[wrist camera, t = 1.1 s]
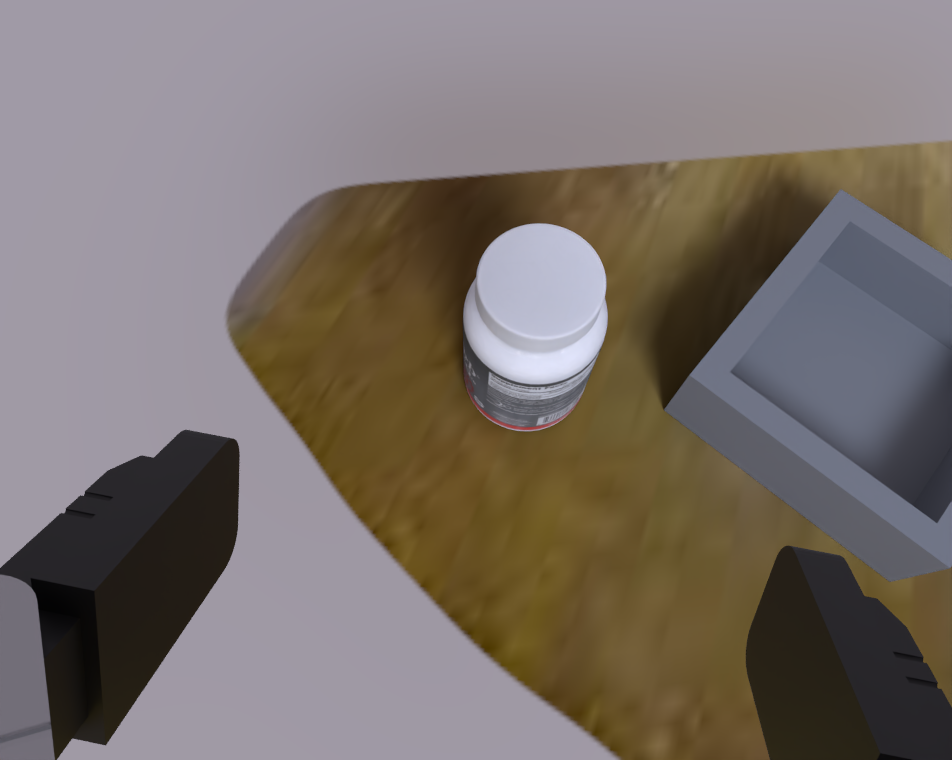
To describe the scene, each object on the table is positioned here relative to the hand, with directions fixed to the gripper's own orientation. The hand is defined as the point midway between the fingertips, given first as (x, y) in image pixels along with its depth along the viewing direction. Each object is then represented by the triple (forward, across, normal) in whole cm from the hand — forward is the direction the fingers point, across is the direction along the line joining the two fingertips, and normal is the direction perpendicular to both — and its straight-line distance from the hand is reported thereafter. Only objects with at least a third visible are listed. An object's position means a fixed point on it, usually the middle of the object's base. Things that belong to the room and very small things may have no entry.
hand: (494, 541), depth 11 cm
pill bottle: (+24, 0, +8) cm, 26 cm away
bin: (+26, -15, +6) cm, 30 cm away
